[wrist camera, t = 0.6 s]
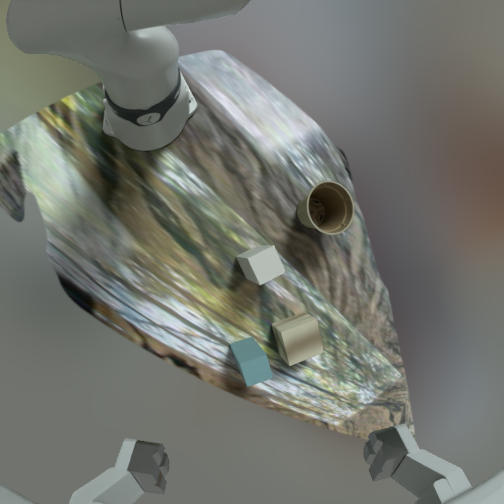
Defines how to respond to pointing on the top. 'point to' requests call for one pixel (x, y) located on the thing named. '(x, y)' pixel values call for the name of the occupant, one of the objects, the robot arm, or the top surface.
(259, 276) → the white block
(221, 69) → the top surface
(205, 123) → the top surface
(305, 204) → the flower pot
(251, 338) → the teal block
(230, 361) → the top surface
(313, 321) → the birch block
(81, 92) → the top surface
